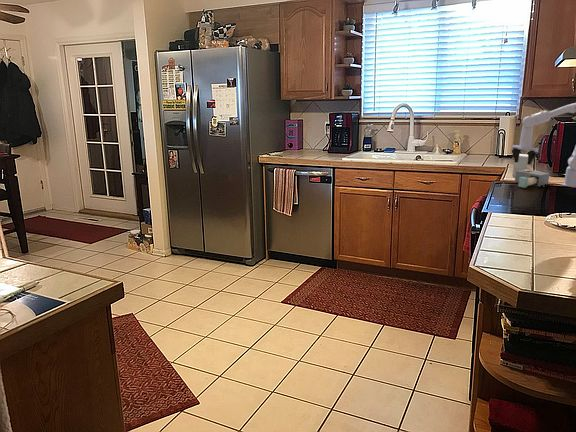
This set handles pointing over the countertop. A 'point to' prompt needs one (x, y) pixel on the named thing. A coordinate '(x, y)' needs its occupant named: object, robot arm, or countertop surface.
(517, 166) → the supplement box
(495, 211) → the countertop surface
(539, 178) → the housing
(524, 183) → the cartridge
